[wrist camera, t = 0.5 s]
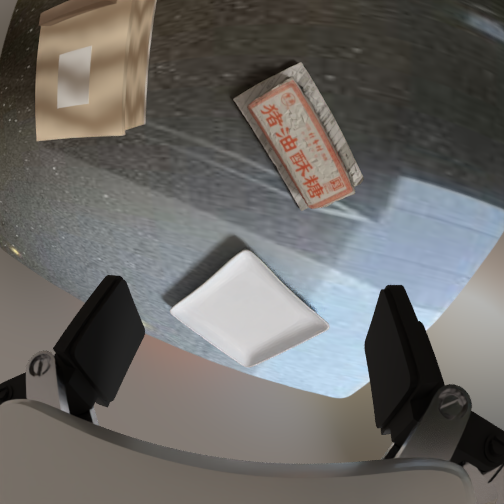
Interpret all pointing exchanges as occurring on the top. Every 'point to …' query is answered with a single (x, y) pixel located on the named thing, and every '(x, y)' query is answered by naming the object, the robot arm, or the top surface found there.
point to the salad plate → (248, 312)
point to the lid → (83, 69)
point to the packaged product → (301, 137)
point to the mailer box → (138, 63)
